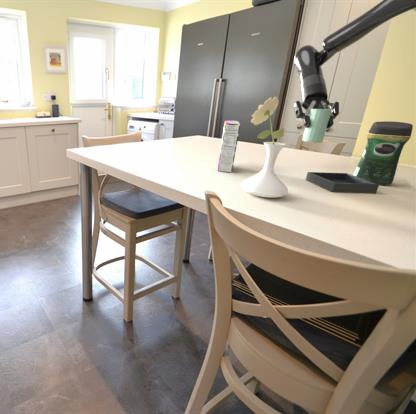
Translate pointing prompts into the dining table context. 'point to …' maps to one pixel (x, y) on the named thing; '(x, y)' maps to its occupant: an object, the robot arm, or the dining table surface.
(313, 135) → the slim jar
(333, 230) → the dining table surface
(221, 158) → the candy bar box
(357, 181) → the dark square tray
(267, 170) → the flower in vase
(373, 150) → the coffee jar
